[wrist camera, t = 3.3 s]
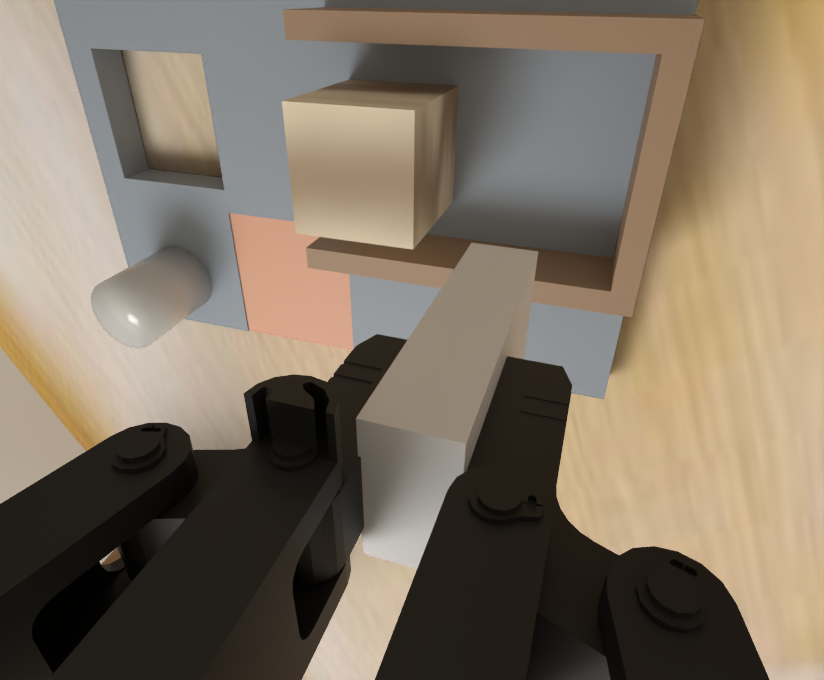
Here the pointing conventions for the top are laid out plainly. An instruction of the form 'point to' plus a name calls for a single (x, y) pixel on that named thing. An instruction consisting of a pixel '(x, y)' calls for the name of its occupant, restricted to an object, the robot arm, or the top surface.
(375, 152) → the maple cube
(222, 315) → the slate deck with cubby
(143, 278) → the grey stone cylinder
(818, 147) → the top surface
